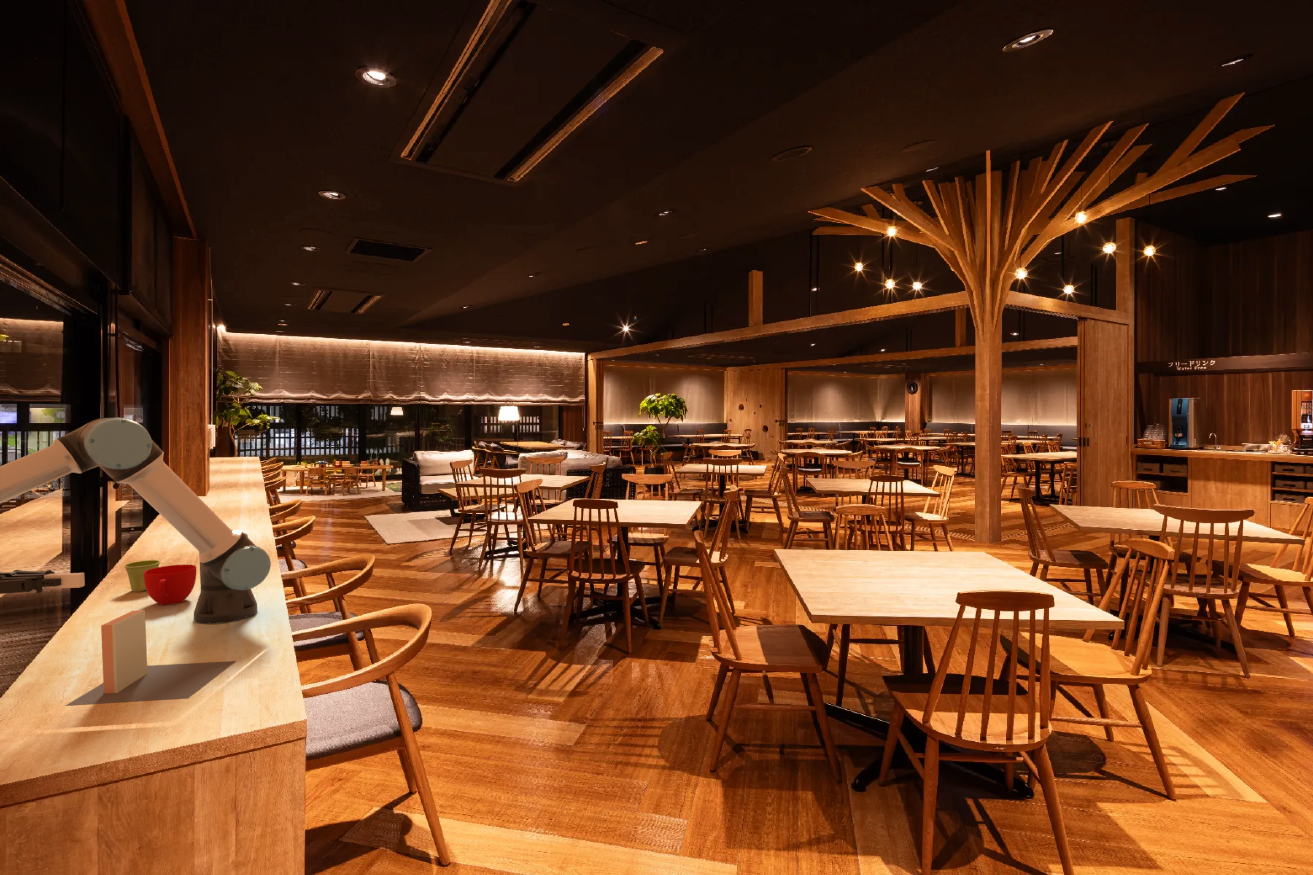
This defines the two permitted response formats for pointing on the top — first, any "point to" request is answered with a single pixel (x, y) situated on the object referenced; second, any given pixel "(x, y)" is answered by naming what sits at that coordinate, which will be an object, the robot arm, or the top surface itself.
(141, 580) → the plant pot
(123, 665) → the tile
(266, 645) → the top surface
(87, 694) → the mat
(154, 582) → the ceramic cup
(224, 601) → the robot arm
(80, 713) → the top surface
